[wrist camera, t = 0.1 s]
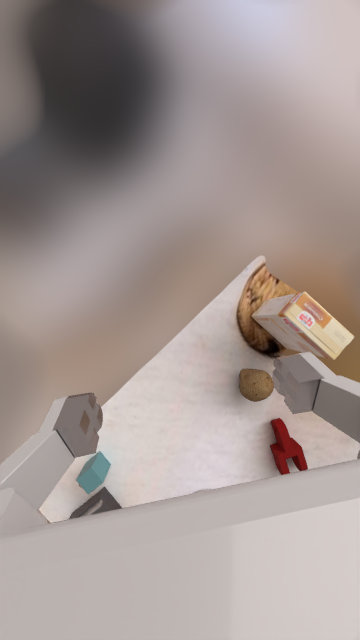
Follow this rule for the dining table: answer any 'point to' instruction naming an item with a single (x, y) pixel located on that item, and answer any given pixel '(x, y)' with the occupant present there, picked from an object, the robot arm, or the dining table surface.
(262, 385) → the natural sponge
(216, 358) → the dining table surface
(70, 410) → the robot arm
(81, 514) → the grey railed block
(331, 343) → the coffeecake box
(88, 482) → the block
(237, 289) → the dining table surface
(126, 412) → the dining table surface
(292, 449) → the mechanical linkage
